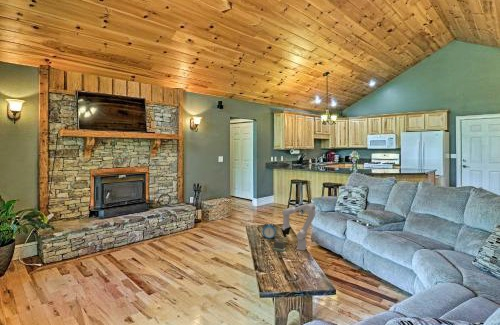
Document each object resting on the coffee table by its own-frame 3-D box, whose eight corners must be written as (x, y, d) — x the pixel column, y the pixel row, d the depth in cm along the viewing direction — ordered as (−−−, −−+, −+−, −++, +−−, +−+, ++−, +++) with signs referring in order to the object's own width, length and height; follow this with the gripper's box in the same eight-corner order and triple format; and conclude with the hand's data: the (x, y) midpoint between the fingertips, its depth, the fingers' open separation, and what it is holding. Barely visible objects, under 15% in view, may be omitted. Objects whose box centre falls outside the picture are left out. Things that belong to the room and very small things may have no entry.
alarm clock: (262, 238, 294) (262, 224, 293) (262, 236, 300) (262, 222, 300) (275, 238, 294) (275, 224, 293) (275, 236, 300) (275, 222, 299)
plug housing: (272, 246, 268) (272, 239, 268) (284, 248, 262) (284, 241, 262) (270, 247, 264) (270, 241, 264) (283, 249, 259) (283, 243, 258)
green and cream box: (276, 247, 268) (276, 242, 268) (286, 249, 264) (286, 244, 263) (272, 250, 261) (272, 244, 261) (283, 251, 257) (283, 246, 256)
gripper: (285, 219, 281) (285, 233, 282) (279, 222, 269) (279, 237, 269) (291, 220, 278) (291, 234, 279) (286, 223, 265) (286, 238, 266)
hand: (286, 235), depth 274 cm, fingers open, 7 cm apart
